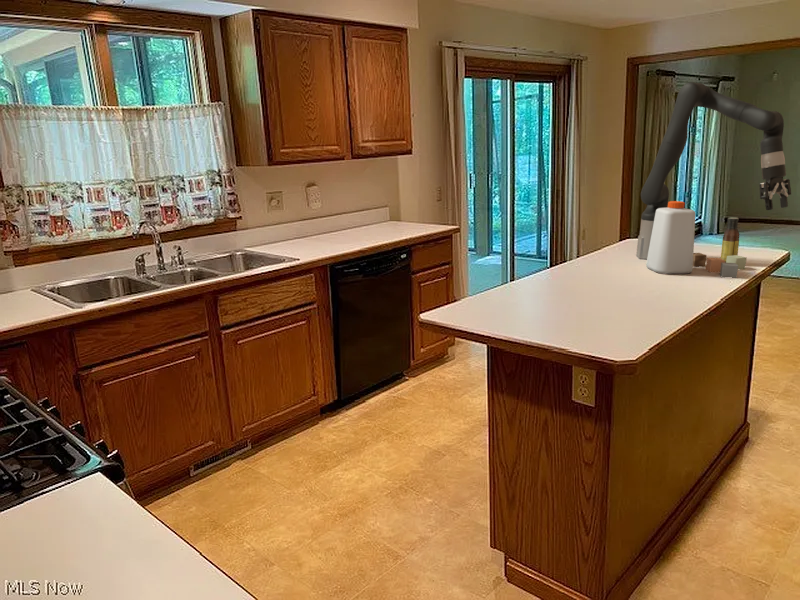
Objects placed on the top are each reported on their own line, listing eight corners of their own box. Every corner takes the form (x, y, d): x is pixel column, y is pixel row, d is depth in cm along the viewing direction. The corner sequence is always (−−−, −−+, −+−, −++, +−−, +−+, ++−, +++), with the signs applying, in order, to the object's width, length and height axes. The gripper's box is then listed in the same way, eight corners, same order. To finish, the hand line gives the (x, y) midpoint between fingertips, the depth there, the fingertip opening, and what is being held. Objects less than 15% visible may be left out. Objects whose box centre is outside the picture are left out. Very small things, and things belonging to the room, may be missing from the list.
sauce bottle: (732, 262, 255) (739, 216, 249) (739, 265, 249) (746, 218, 243) (716, 262, 255) (723, 216, 250) (722, 265, 249) (729, 218, 244)
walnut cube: (693, 267, 248) (695, 255, 246) (687, 264, 252) (688, 253, 251) (705, 266, 248) (706, 255, 247) (698, 264, 253) (699, 252, 251)
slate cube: (721, 277, 230) (723, 264, 228) (719, 274, 234) (721, 262, 233) (736, 278, 228) (738, 265, 227) (733, 275, 233) (735, 263, 231)
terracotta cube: (709, 272, 238) (711, 260, 237) (705, 269, 243) (707, 257, 242) (723, 272, 237) (724, 260, 236) (718, 269, 242) (720, 258, 241)
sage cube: (734, 270, 241) (736, 258, 240) (725, 267, 246) (726, 255, 245) (744, 269, 243) (746, 257, 241) (734, 266, 247) (736, 255, 246)
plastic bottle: (696, 274, 235) (705, 203, 227) (659, 275, 234) (667, 204, 226) (676, 265, 250) (684, 199, 242) (642, 266, 249) (649, 200, 241)
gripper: (775, 165, 226) (779, 207, 228) (750, 168, 221) (754, 211, 222) (795, 162, 219) (799, 205, 221) (770, 165, 214) (774, 209, 215)
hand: (776, 208), depth 222 cm, fingers open, 8 cm apart
